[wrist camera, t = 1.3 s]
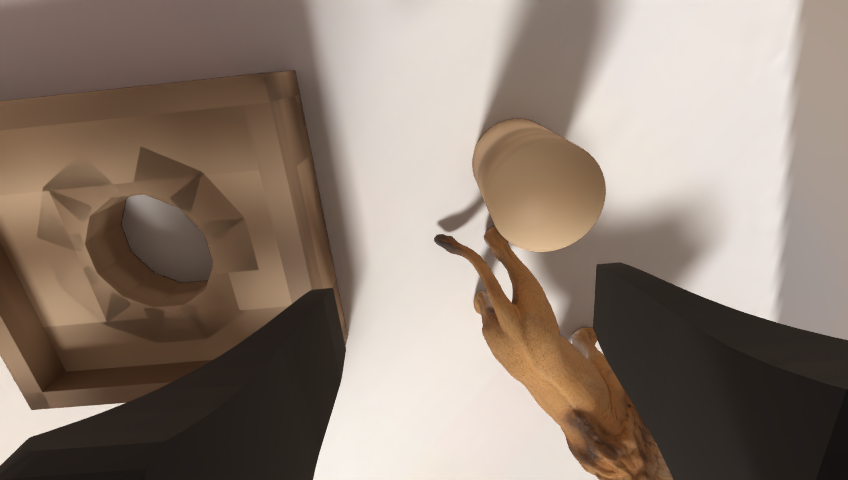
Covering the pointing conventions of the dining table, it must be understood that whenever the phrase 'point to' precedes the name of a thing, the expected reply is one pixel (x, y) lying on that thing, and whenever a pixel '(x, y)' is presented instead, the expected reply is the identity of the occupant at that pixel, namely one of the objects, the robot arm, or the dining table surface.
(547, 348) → the tan animal figurine
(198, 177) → the walnut box
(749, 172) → the dining table surface
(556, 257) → the dining table surface
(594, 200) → the oak dowel
